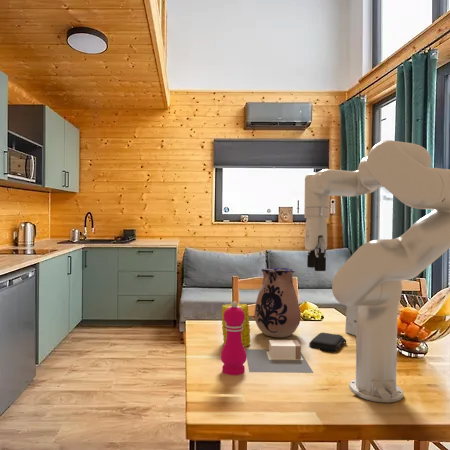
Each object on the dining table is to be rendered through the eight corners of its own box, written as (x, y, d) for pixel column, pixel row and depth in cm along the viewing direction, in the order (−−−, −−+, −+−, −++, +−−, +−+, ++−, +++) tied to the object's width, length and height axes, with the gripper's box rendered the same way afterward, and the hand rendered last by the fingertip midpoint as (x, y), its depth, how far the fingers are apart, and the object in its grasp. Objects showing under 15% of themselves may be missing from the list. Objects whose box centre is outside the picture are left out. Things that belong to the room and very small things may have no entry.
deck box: (271, 358, 119) (271, 345, 119) (268, 352, 125) (269, 339, 125) (300, 359, 119) (300, 346, 119) (297, 352, 125) (297, 340, 125)
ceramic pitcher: (247, 337, 143) (248, 270, 143) (264, 324, 162) (265, 265, 162) (294, 344, 136) (295, 273, 136) (306, 329, 155) (307, 267, 155)
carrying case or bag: (339, 355, 126) (348, 343, 139) (339, 345, 126) (348, 335, 139) (307, 349, 131) (319, 338, 144) (307, 340, 131) (319, 330, 144)
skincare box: (344, 332, 152) (345, 301, 152) (353, 331, 154) (353, 300, 154) (356, 336, 146) (357, 304, 146) (365, 335, 148) (365, 303, 149)
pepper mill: (224, 378, 104) (225, 304, 104) (217, 369, 111) (218, 299, 111) (249, 376, 106) (250, 303, 106) (241, 366, 113) (242, 298, 113)
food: (238, 356, 127) (218, 349, 135) (261, 341, 135) (241, 336, 142) (229, 312, 125) (209, 308, 133) (253, 299, 133) (233, 296, 141)
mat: (313, 374, 108) (313, 372, 108) (249, 373, 108) (249, 371, 108) (299, 351, 128) (299, 349, 128) (245, 350, 128) (245, 349, 128)
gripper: (299, 214, 128) (298, 266, 128) (311, 212, 110) (310, 272, 110) (321, 214, 128) (321, 266, 128) (337, 212, 111) (336, 272, 110)
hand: (316, 269), depth 119 cm, fingers open, 9 cm apart
